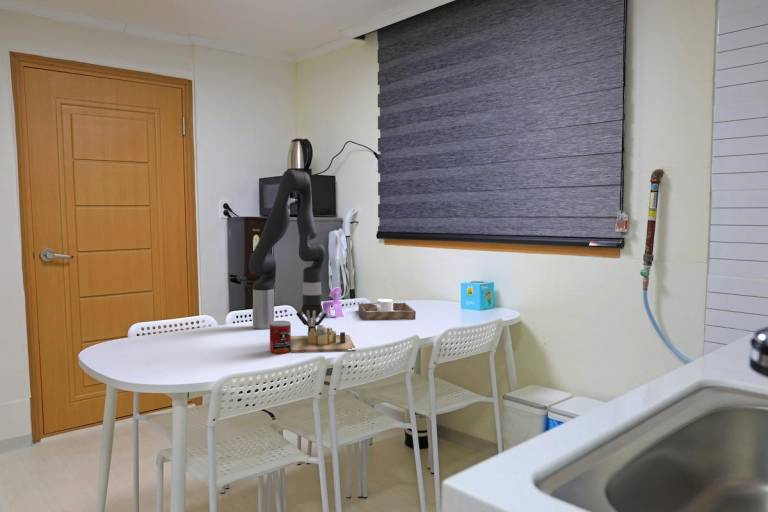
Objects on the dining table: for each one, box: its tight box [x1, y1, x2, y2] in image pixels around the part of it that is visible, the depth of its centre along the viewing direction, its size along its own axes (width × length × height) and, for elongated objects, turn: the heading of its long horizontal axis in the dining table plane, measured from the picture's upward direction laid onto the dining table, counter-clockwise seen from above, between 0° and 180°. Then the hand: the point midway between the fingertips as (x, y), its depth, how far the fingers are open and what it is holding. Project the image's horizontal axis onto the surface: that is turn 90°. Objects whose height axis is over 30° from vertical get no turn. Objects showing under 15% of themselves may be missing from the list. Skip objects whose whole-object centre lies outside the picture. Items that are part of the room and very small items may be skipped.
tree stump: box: [373, 298, 394, 312], centre depth 293 cm, size 20×19×8 cm
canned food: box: [269, 320, 292, 355], centre depth 215 cm, size 8×8×11 cm
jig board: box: [290, 326, 356, 354], centre depth 228 cm, size 24×24×6 cm
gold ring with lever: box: [307, 324, 337, 345], centre depth 231 cm, size 11×18×5 cm, turn 9°
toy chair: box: [322, 286, 344, 319], centre depth 288 cm, size 8×9×15 cm
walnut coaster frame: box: [358, 302, 417, 321], centre depth 294 cm, size 25×26×4 cm
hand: (311, 335), depth 235 cm, fingers closed
